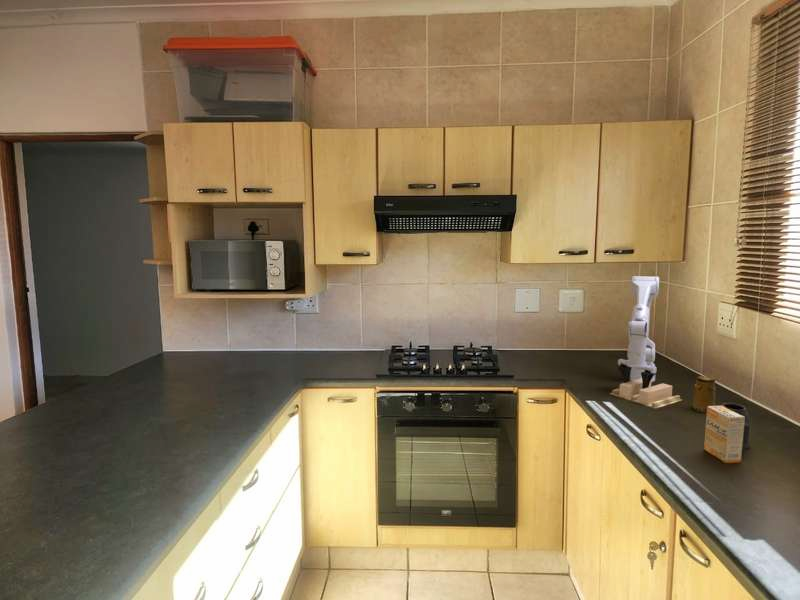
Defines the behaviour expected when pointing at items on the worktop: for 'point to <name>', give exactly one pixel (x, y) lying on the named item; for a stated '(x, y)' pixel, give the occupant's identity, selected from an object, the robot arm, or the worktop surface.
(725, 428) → the supplement box
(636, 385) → the clay bar
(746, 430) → the mug
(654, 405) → the rack
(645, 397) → the clay bar
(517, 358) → the worktop surface
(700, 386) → the condiment
